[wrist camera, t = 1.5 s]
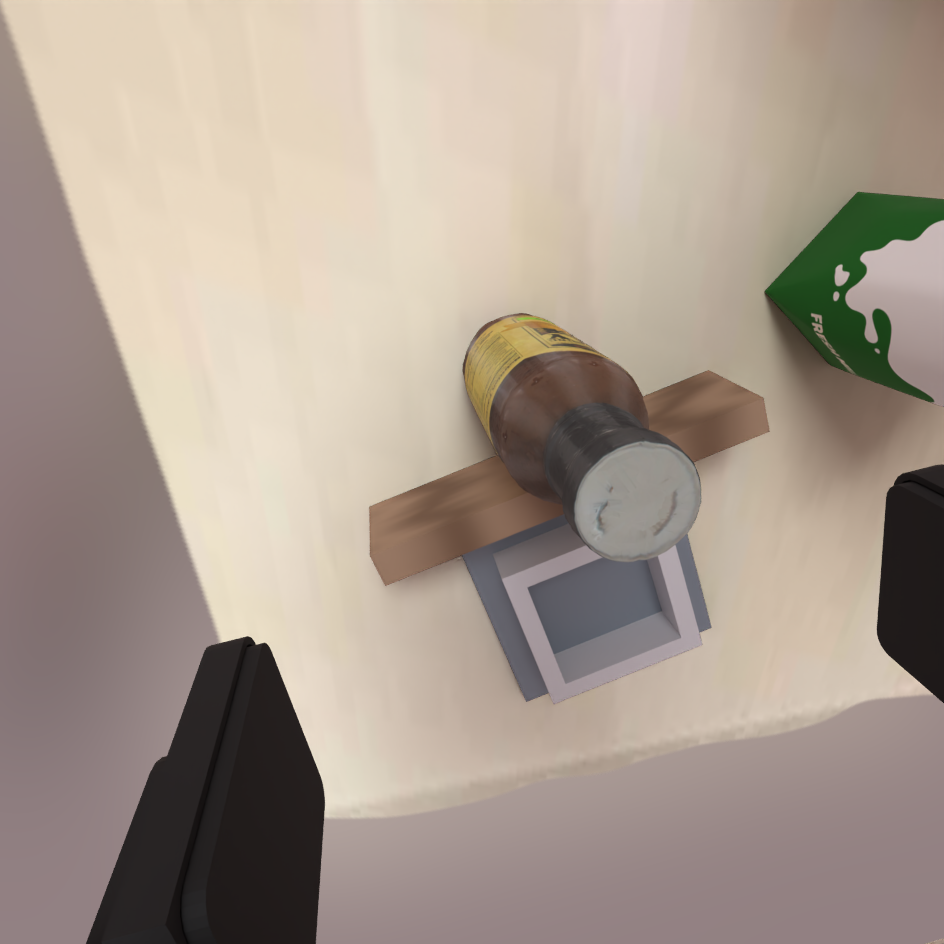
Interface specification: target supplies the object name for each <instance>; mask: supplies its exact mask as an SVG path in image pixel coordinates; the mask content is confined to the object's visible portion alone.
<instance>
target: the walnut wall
mask: <svg viewBox="0 0 944 944" xmlns="http://www.w3.org/2000/svg"><path fill="white" fill-rule="evenodd" d="M643 400H644V403H645V406H646V409H647V412H648V418H649V430H651V431H655V432H658V433H660V434H662V435H663V436H665V437H667V438H669V439H670V440H671V441H672V442H673V443H675V444H677V445H678V446H679V447H680V448H681V449H682V450H683V451H684V453H686V454H687V455H688V456H689V457H690V459H691V460H692V461H693V462H695V461H697V460H700V459H702V458H705V457H707V456H710V455H712V454H715V453H717V452H720V451H722V450H725V449H727V448H730V447H732V446H735V445H737V444H740V443H742V442H745V441H747V440H750V439H752V438H755V437H757V436H760V435H762V434H765V433H767V432H770V431H769V425H768V420H767V415H766V409H765V404H764V398H763V397H761V396H759V395H757V394H755V393H753V392H751V391H749V390H747V389H745V388H743V387H741V386H739V385H737V384H735V383H733V382H731V381H729V380H727V379H725V378H723V377H721V376H719V375H717V374H715V373H713V372H711V371H709V370H708V371H705V372H703V373H701V374H698V375H696V376H693V377H691V378H688V379H686V380H683V381H681V382H678V383H676V384H673V385H671V386H668V387H666V388H663V389H661V390H658V391H656V392H653V393H651V394H648V395H646V396H643ZM369 511H370V557H371V559H372V561H373V563H374V565H375V567H376V569H377V571H378V573H379V575H380V577H381V578H382V580H383V582H384V584H385V586H386V585H389V584H391V583H394V582H396V581H399V580H401V579H404V578H406V577H409V576H411V575H414V574H416V573H419V572H421V571H424V570H426V569H429V568H431V567H434V566H436V565H439V564H441V563H444V562H446V561H449V560H451V559H454V558H456V557H458V556H461V555H463V554H466V553H468V552H471V551H473V550H476V549H478V548H481V547H483V546H486V545H488V544H491V543H493V542H496V541H498V540H501V539H503V538H506V537H508V536H511V535H513V534H516V533H518V532H521V531H523V530H526V529H528V528H531V527H533V526H536V525H538V524H541V523H543V522H546V521H548V520H551V519H553V518H556V517H558V516H561V515H563V514H564V513H563V505H560V504H556V503H551V502H548V501H543V500H542V499H540V498H537V497H535V496H533V495H531V494H530V493H528V492H526V491H525V490H523V489H522V488H521V487H520V486H519V485H518V483H517V482H516V481H515V480H514V479H513V478H512V476H511V475H510V473H509V471H508V470H507V468H506V466H505V464H504V463H503V462H502V461H501V459H500V458H499V456H498V455H497V456H494V457H492V458H489V459H487V460H484V461H482V462H479V463H477V464H474V465H472V466H469V467H467V468H465V469H462V470H460V471H457V472H455V473H452V474H450V475H447V476H445V477H442V478H440V479H437V480H435V481H432V482H430V483H427V484H425V485H422V486H420V487H417V488H415V489H412V490H410V491H407V492H405V493H402V494H400V495H397V496H395V497H392V498H390V499H388V500H385V501H383V502H380V503H378V504H375V505H373V506H370V507H369Z"/></svg>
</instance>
